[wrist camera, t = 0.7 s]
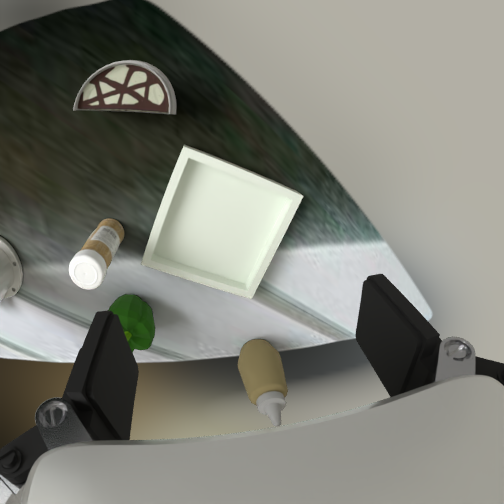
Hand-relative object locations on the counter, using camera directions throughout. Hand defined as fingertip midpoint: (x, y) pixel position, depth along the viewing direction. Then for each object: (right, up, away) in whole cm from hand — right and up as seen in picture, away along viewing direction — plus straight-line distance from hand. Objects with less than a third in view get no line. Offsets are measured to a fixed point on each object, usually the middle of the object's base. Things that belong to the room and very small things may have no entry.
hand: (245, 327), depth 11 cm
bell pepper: (-20, -7, +39) cm, 44 cm away
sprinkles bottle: (-21, +6, +33) cm, 39 cm away
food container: (-15, +25, +25) cm, 38 cm away
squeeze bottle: (+1, -16, +47) cm, 50 cm away
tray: (-5, +7, +35) cm, 36 cm away
